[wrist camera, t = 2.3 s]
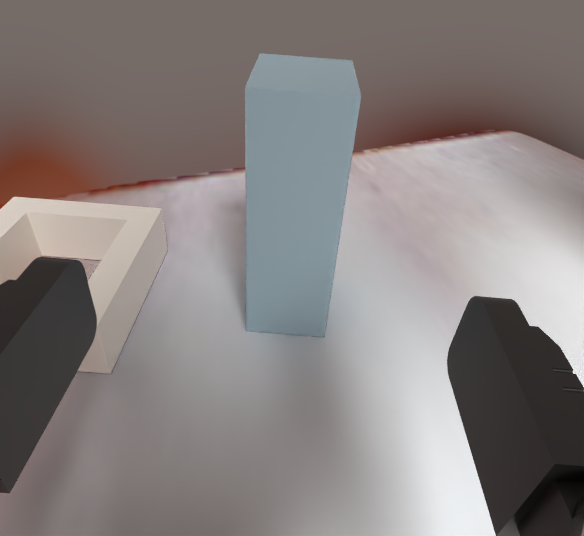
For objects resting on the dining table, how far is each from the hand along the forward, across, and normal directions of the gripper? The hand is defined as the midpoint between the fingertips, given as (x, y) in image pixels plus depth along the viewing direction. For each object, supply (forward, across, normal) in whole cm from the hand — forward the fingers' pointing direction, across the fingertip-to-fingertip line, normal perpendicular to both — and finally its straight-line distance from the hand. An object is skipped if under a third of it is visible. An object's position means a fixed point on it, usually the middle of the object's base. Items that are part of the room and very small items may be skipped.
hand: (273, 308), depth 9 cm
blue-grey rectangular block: (+12, 0, +10) cm, 15 cm away
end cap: (+11, +12, +10) cm, 19 cm away
